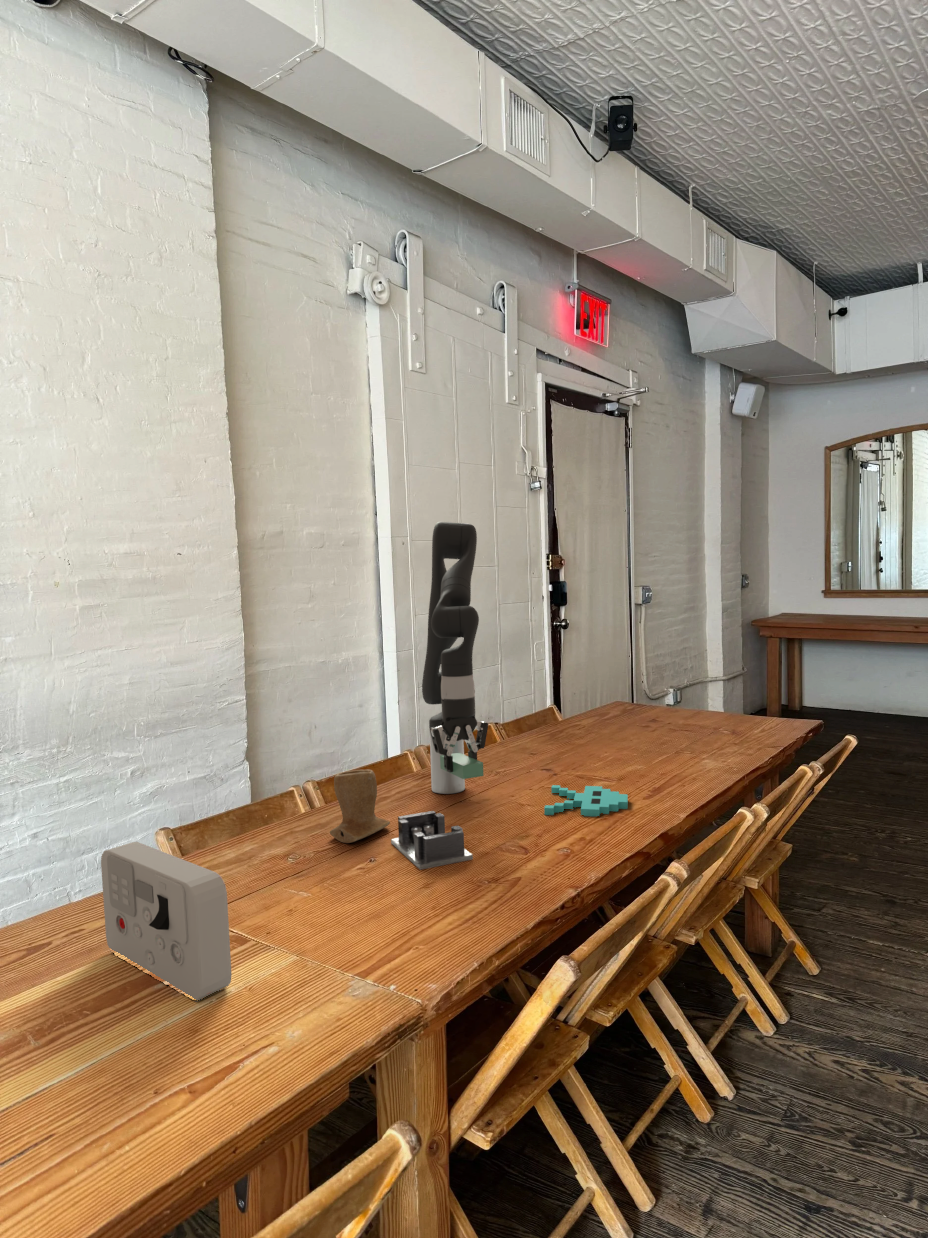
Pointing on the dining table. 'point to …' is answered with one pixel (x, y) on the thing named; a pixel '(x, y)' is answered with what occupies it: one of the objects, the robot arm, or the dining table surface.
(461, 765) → the green block
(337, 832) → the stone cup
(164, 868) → the grey button box
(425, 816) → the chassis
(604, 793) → the alien figure
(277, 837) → the dining table surface
